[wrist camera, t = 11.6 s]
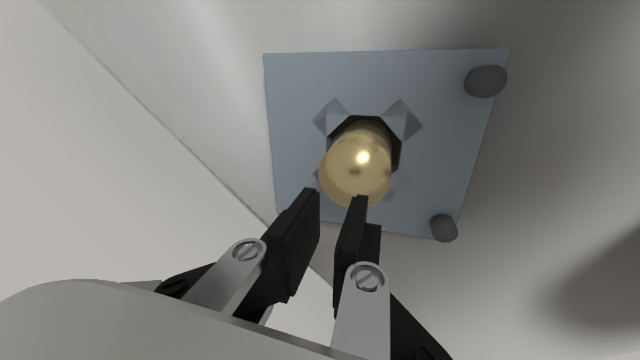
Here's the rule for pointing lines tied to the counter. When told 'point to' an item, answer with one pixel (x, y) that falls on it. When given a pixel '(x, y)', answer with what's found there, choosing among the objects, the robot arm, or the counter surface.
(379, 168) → the brass cylinder
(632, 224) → the counter surface
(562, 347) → the counter surface
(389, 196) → the plate
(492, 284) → the counter surface
